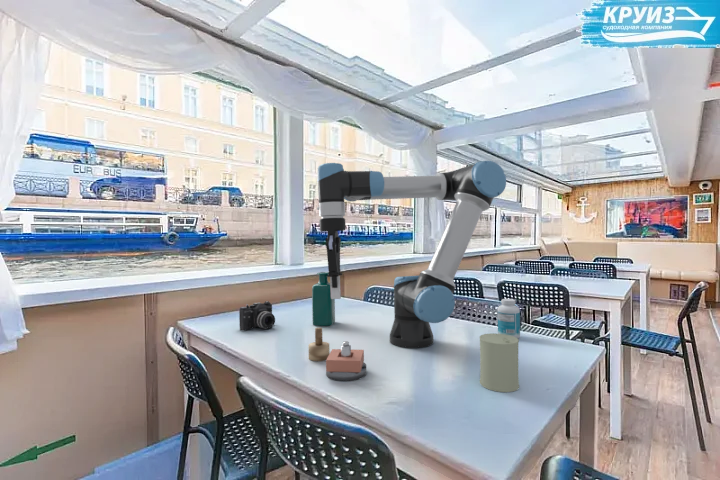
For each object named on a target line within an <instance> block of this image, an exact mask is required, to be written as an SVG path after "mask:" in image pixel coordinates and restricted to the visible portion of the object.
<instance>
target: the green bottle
mask: <svg viewBox="0 0 720 480" xmlns="http://www.w3.org/2000/svg"><path fill="white" fill-rule="evenodd" d="M328 272H329V271H320V272H316V275H318V282H317V283H315V284H313V285H312V287H311V297H312V298H311V305H312V307H311V308H312V309H311V311H312V314H311V315H312V325H313V326H315V327H316V326H317V327H329V326H332V325H333V324H334V323H335V322H336V301H335V300H336V299H331V289H330V281H329V280H328V278H329V277H327V275H328Z"/></svg>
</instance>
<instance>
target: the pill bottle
mask: <svg viewBox="0 0 720 480" xmlns="http://www.w3.org/2000/svg"><path fill="white" fill-rule="evenodd" d="M520 313H521V309H520V308H519V306H517V305H516V299H515V298H502V299H501V303H500V305H499V306H498V307H497V334H505V335H510V336H513V337H516V338H517V339H518V340H519V339H520V337H521V315H520Z"/></svg>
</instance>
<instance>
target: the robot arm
mask: <svg viewBox="0 0 720 480" xmlns="http://www.w3.org/2000/svg"><path fill="white" fill-rule="evenodd" d="M316 182H317V192H318V194H317V195H318V206H317V207H316V210H317V211H318V214H319V217H321V218H320V219H318V220H319V222H318V223H319V231H320V232H327V237H325V248H326V255H327V257H326V258H327V267H328V268H327V269H328V271H327V272H328V275H327V277H328V278H329V283H330V289H331V299H335V300H337V299H339V300H340V299H341V296H342V293H341V276H343V272H341V240H342V239H341V236H340V237H339V232H341V231H343V232H344V231H346V218H345V216H346V204H345V203H346V202H345V201H347V202H356V201H369V200H372V201H373V200H375V201H376V200H396V199H397V200H399V199H400V200H401V199H424V198H425V199H426V198H427V199H429V198H430V199H431V198H435V199H436V200H438V201H455V202H456V203H455V204H454V207H453V209H452V212H451V213H450V216H449V218H448V221H447V223H446V226H445V227H444V230H443V231H442V232H443V233H442V234H441V238H440V239H439V241H438V244H437V246H436V248H435V251H434V253H433V255H432V258H431V260H430V262H429V264H428V267H427V268H426V269H424V270H422V271H420V273H419V275H405V276H396V277H395V278H394V283H393V296H394V299H393V300H394V301H393V305H394V306H393V307H394V311H393V312H394V320H393V323H392V325H391V330H390V333H389V342H390V344H392V345H395V346H397V347H401V348H410V349H413V348H416V349H417V348H426V347H429V346H432V345H433V344H434V343H435V342H434V333H433V331H432V327H431V324H438V323H442V322H444V321H445V320H447V319H448V318H450V316H451V315H452V314H453V312H454V310H455V307H456V306H455V305H456V300H455V295H454V292H455V289H456V287H457V286H456V284H455V281H454V279H455V276H456V274H457V273H458V270H459V268H460V264H461V262H462V260H463V257H464V256H465V254H466V250H467V249H468V246H469V243H470V242H471V239H472V237H473V234H474V232H475V229H476V227H477V225H478V223H479V221H480V218H481V215H482V213H483V212H485V211H487V210H489V209H490V207H491V204H492V202H493V200H494V199H495V198H497V197H499V196H500V195H501V194H503V193H504V191H505V189H506V186H507V176H506V174H505V171H504V169H503V168H502V166H501V164H498V163H497V162H495V161H493V160H483V161H482V160H480V161H477V162H476V163H474V164H471V165H467V166H463V167H461V168H458V169H455V170H452V171H446V172H438V173H436V174H435V175H415V176H414V175H413V176H410V175H409V176H407V175H406V176H384V174H383V173H382V172H381V171H378V170H376V171H375V170H357V171H356V170H353V171H352V170H351V171H350V170H344V166H343V164H342V163H339V162H337V163H336V162H325V163H322V164H320V165H319V166H318V167H317V181H316Z"/></svg>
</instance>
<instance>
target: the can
mask: <svg viewBox="0 0 720 480" xmlns="http://www.w3.org/2000/svg"><path fill="white" fill-rule="evenodd" d="M519 342H520V340H519V338H518V339H517V338H516V337H513V336H510V335H505V334H498V333H484V334H481V335H480V336H479V359H480V360H479V362H480V364H479V365H480V369H479V372H480V375H479V377H480V378H479V384H480V385H481V387H483V388H485V389H487V390H490V391H492V392H499V393H513V392H516V391H518V390H519V389H520V384H519V383H520V382H519V381H520V380H519Z"/></svg>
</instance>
